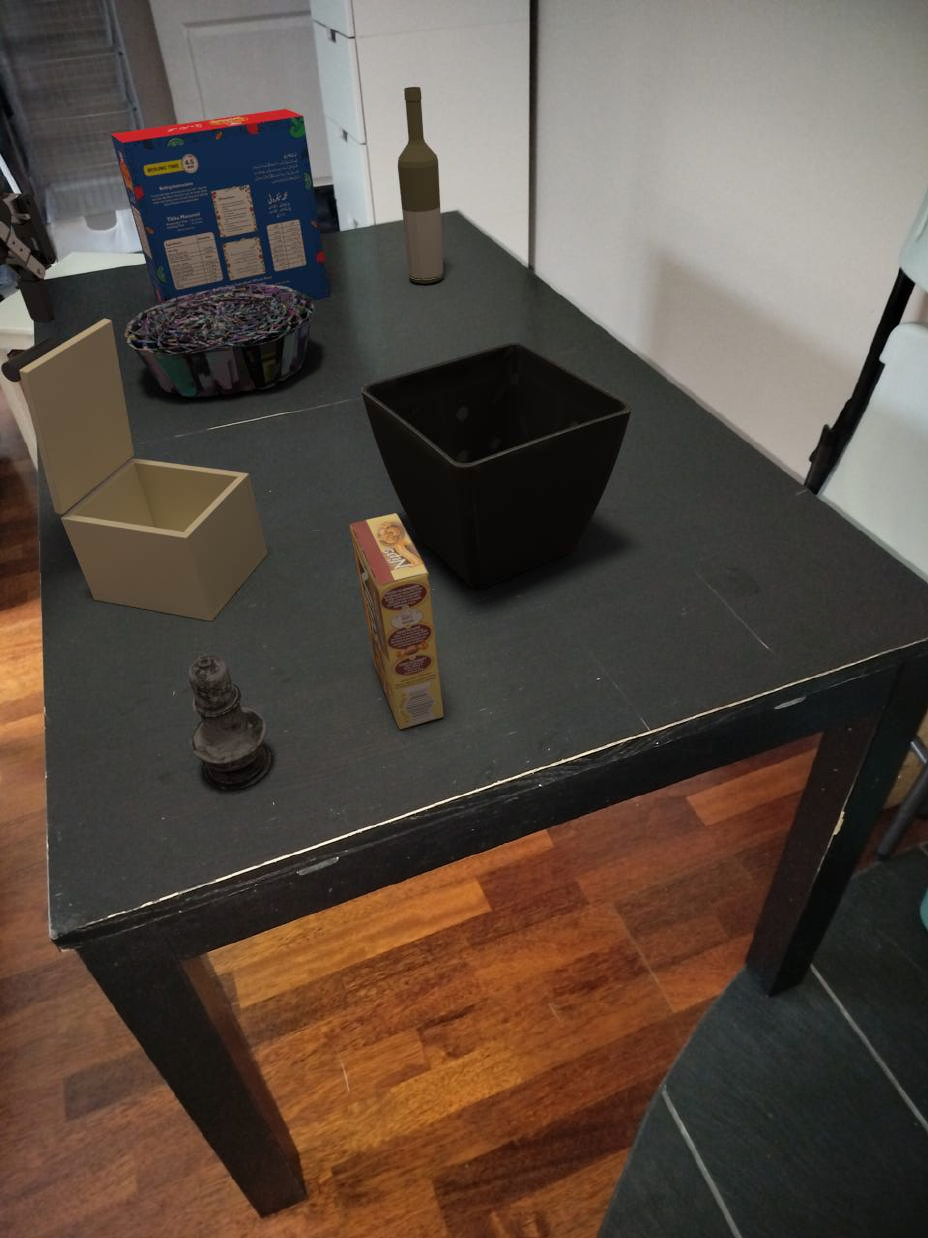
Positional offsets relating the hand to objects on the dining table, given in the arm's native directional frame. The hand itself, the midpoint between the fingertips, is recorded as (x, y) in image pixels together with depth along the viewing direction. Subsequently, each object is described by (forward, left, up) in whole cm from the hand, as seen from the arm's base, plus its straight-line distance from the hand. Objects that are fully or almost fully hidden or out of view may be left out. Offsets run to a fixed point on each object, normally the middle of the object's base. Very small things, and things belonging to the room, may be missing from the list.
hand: (12, 338), depth 76 cm
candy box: (+35, -20, -24) cm, 47 cm away
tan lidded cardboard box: (+10, -3, -24) cm, 26 cm away
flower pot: (+42, +2, -24) cm, 49 cm away
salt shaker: (+21, -29, -24) cm, 43 cm away
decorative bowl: (+4, +49, -24) cm, 54 cm away
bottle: (+30, +86, -24) cm, 94 cm away
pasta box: (-1, +76, -24) cm, 79 cm away
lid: (+5, -2, -7) cm, 9 cm away
